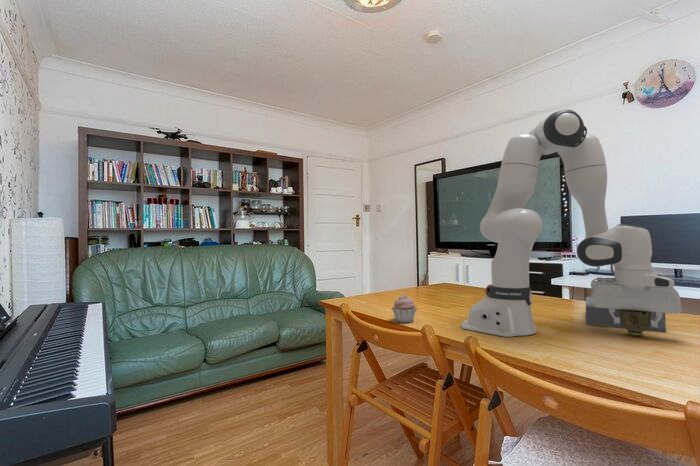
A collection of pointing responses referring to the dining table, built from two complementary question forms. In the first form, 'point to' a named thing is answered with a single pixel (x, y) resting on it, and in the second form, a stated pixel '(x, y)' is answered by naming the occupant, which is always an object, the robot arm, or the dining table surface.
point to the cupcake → (404, 309)
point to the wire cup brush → (635, 321)
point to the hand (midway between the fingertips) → (634, 325)
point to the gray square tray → (605, 318)
